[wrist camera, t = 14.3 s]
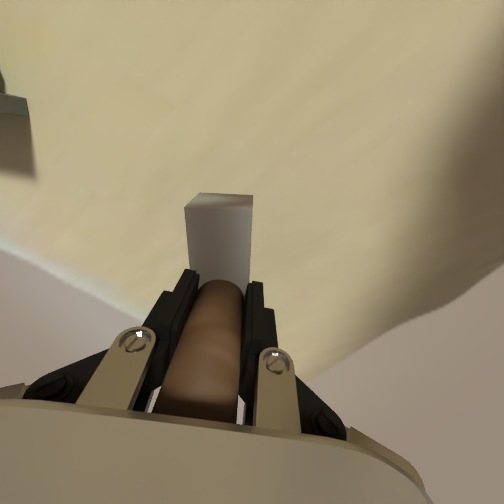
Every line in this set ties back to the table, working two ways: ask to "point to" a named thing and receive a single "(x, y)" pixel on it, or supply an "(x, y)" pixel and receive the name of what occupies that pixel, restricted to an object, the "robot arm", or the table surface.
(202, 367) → the stamp with brown handle
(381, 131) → the table surface
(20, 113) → the u-shaped bracket
